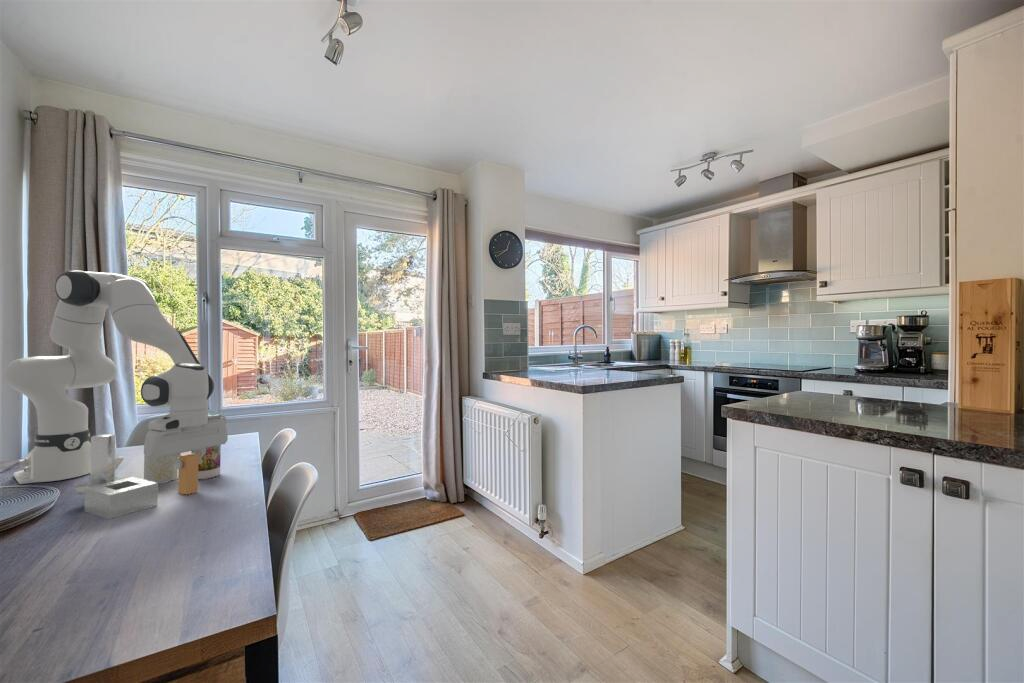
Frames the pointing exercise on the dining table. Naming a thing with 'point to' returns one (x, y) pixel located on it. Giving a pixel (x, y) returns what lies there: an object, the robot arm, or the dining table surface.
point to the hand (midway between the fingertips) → (188, 466)
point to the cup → (159, 469)
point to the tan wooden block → (188, 474)
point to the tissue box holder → (113, 484)
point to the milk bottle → (209, 462)
